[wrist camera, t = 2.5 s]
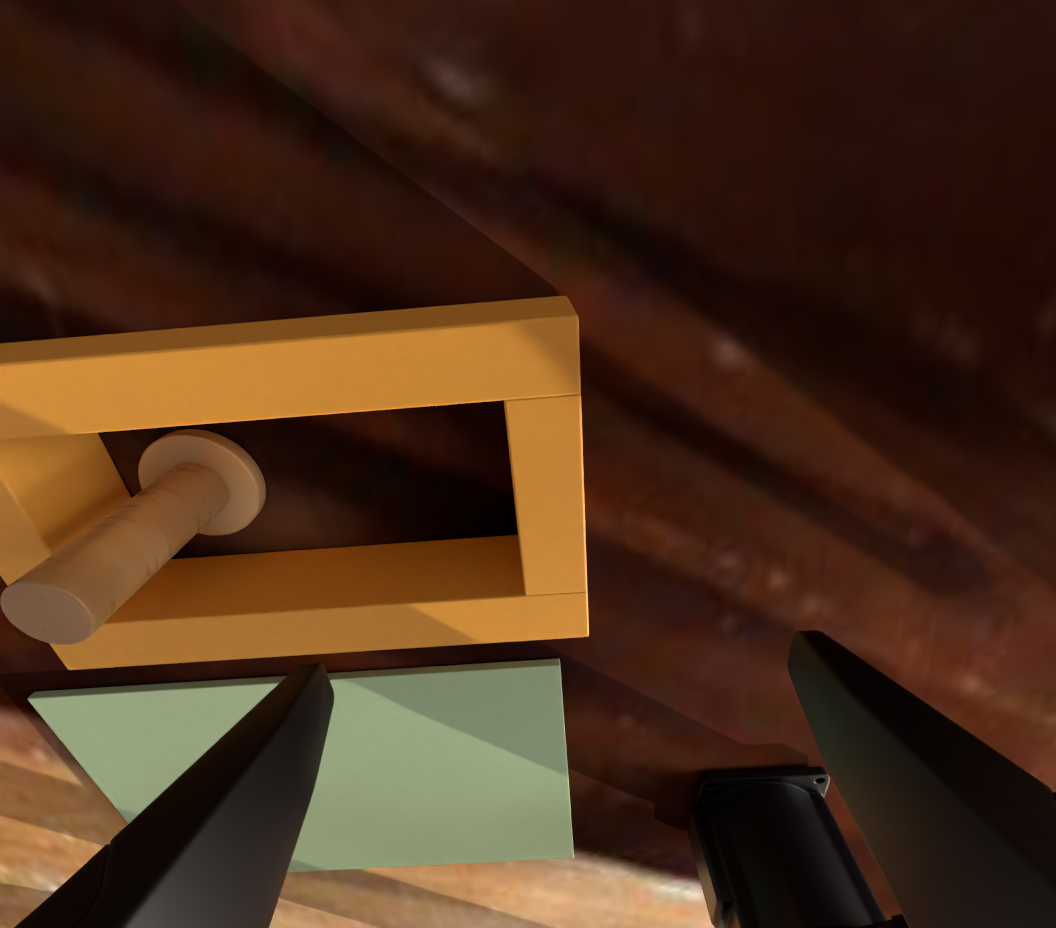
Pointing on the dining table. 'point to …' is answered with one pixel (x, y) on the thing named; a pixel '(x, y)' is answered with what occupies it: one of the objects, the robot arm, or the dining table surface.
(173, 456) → the peg stand
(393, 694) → the mat
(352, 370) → the rectangular frame
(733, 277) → the dining table surface
